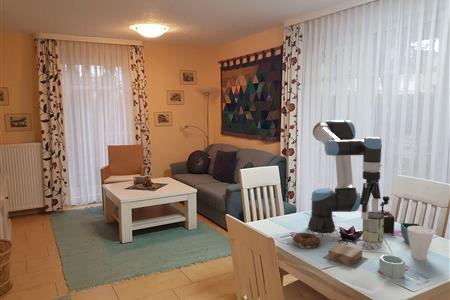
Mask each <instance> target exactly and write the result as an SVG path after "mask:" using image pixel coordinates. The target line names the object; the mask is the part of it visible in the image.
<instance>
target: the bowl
mask: <svg viewBox="0 0 450 300" xmlns="http://www.w3.org/2000/svg"><path fill="white" fill-rule="evenodd" d="M405 265H406V260H405V259H403V258H402V257H401V256H397V255H394V254H382V255H381V256H380V257H379V263H378V270H379V272H381V274H382V275H386V276H387V277H388V278H391V279H402V278H403V277H404V276H405V270H406V269H405V268H406V266H405Z"/></svg>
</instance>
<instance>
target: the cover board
mask: <svg viewBox="0 0 450 300" xmlns="http://www.w3.org/2000/svg"><path fill="white" fill-rule="evenodd" d="M328 254H329V259H332V260H335V261H338V262H341V263H344V264H347V265H350V266H352V265H354V264H355V263H356V262H357V261H359V260H360V259H361V258H362V257H363V249H362V248H357V247H355V246H351V245H346V244H343V243H338V244H336V245H335V246H333V247H332V248H330V249H328Z"/></svg>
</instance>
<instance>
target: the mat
mask: <svg viewBox="0 0 450 300" xmlns="http://www.w3.org/2000/svg"><path fill="white" fill-rule="evenodd" d="M322 259H324V260H326V261H330V262H333V263H336V264H339V265H342V266H345V267H349V268H351V269H355V270H357V268H359V267H360V266H362V265H363V264H364V263H365V262H367V261H368V260H369V258H368V257H365V256H362V258H361V259H360V260H359V261H357V262H356V263H355V264H354V265H352V266H350V265H347V264H344V263H341V262H338V261H335V260H332V259H329V253H327V254H326V255H325V256H323V257H322Z"/></svg>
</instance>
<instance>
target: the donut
mask: <svg viewBox="0 0 450 300" xmlns="http://www.w3.org/2000/svg"><path fill="white" fill-rule="evenodd" d="M292 239H293V240H292V242H293V243H294V245H295V246H297V247H298V246H299V248H301V247H303V248H302V249H315V248H317V247H318V248H319V246H320V244H321V240H320V237H319V236H318V235H317V234H314V233H311V232H299V233H296V234H295V235H294V236H293V238H292Z"/></svg>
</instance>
